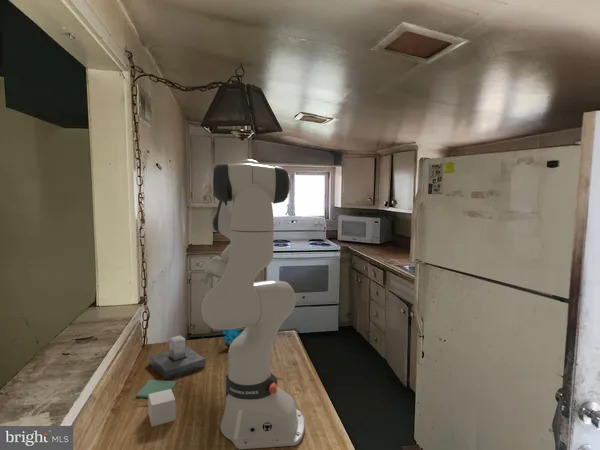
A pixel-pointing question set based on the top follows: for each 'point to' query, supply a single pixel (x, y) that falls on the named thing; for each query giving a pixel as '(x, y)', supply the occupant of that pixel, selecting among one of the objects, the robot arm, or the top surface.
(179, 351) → the steel bar
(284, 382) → the top surface
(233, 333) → the gear
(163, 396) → the plain white cube
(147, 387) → the rubber mat
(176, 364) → the socket block
